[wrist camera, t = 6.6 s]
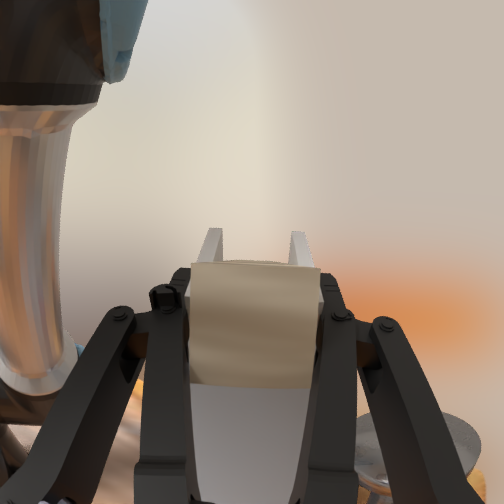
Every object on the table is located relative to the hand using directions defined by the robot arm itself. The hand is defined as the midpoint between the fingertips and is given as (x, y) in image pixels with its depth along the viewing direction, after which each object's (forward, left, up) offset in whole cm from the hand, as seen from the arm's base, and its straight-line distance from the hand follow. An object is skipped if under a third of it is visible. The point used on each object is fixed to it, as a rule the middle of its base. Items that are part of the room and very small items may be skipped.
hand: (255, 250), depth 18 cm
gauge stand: (-5, +5, -35) cm, 36 cm away
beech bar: (-4, +4, -5) cm, 7 cm away
